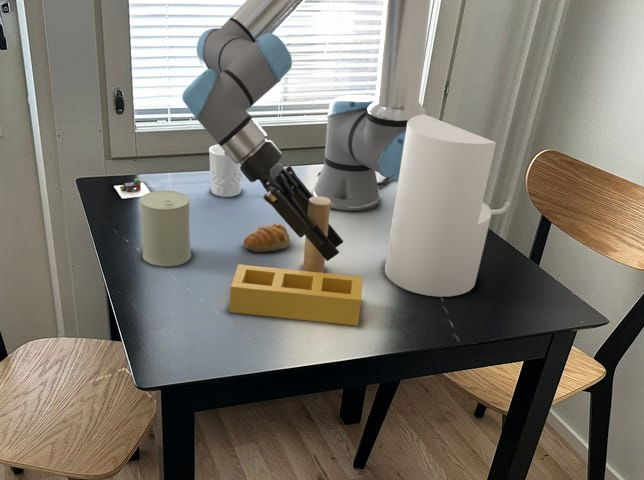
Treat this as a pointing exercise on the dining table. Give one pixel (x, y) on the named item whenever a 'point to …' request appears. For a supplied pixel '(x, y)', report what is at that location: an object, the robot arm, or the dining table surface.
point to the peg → (320, 217)
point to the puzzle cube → (132, 189)
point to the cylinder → (439, 209)
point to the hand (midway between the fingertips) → (335, 250)
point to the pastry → (267, 239)
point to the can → (165, 228)
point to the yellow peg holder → (296, 294)
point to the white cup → (224, 173)
